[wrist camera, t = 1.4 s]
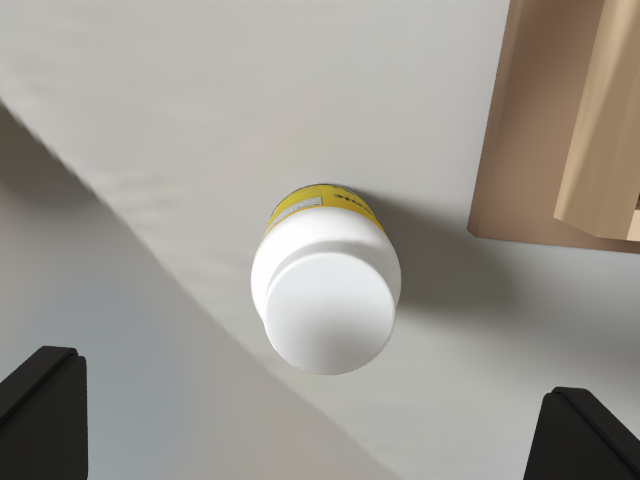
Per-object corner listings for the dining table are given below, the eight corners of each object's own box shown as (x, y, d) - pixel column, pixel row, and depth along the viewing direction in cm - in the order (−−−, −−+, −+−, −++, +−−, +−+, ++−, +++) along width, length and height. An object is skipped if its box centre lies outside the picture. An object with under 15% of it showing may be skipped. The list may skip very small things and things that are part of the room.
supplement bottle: (397, 254, 24) (450, 349, 15) (302, 305, 25) (296, 427, 15) (344, 159, 23) (365, 195, 13) (246, 215, 24) (201, 287, 14)
